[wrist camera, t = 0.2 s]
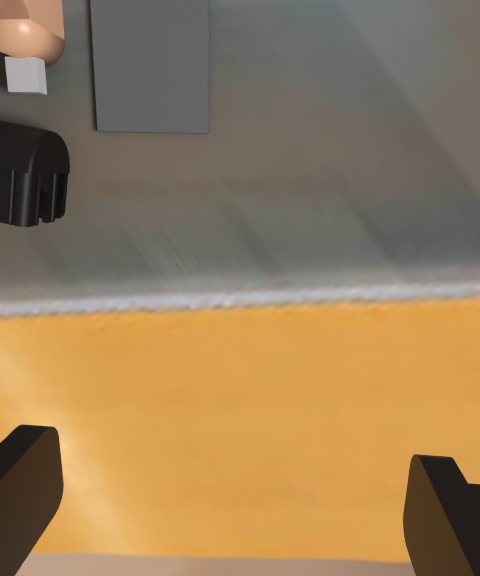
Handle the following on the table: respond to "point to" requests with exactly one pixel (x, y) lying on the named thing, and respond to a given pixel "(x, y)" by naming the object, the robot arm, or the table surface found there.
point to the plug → (30, 42)
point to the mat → (151, 65)
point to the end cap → (32, 175)
